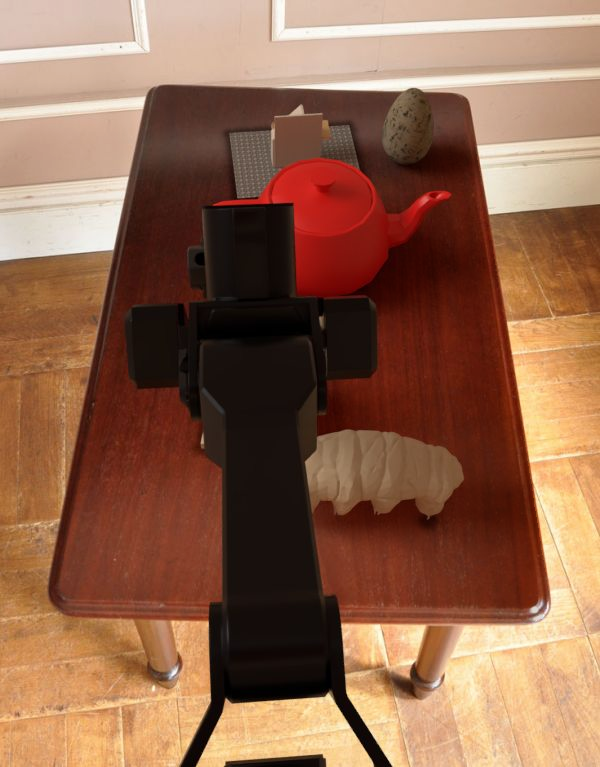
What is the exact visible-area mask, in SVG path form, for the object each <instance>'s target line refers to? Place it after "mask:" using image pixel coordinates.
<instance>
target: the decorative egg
mask: <svg viewBox="0 0 600 767" xmlns="http://www.w3.org/2000/svg"><path fill="white" fill-rule="evenodd" d="M434 123H435V122H434V115H433V109H432V105H431V103H430V100H429V99H428V97H427V95H426V94H425V92H424V91H423V90H422V89H420V88H418V87H410V88H407V89H406V90H404V91H403V92H401V93H400V94H399V95H398V96H397V98H395V100H394V102H393V103H392V105H391V107H390V108H389V110H388V113H387V115H386V117H385V120H384V123H383V126H382V133H381V141H382V147H383V149H384V152H385V154H386V155H387V157H388V158H389V159H390V160H391V161H392V162H394V163H396V164H398V165H402V166H409V165H414V164H416V163H418V162H420V161H421V160H422V159H423V158H424V157H425V156H426V155H427V154H428V152H429V150H430V148H431V146H432V143H433V139H434V132H435V130H434V129H435V126H434V125H435V124H434Z"/></svg>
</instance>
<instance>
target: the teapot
mask: <svg viewBox="0 0 600 767" xmlns="http://www.w3.org/2000/svg"><path fill="white" fill-rule="evenodd" d="M451 196H452V193H451V192H449V191H447V190H433V191H428V192H426V193H424V194H423V195H421V196H420V197H418V198H417V199H416V200H415V201H414V202H413V203H412V204H411V205H410V206H409V207H408V208H406V209H405V210H404V211H401V212H400V213H387V211H386V207H385V205H384V203H383V201H382V198H381V196H380V195H379V192H378V190H377V188H376V187H375V185H374V184H373V182H372V180H371V179H370V178H369V177H368V176H367V175H365V174H364V173H363V172H362V171H361V169H360V170H359V169H358V168H356V167H353V166H351V165H349V164H347V163H344V162H342V161H339V160H332V159H324V158H315V159H308V160H301V161H297V162H295V163H293V164H291V165H289V166H287V167H285V168H283V169H281V170H280V171H279V172H278V173H277V175H276V176H275V177H274V178H273V179H272V180H271V181H270V183H269V184H268V185H267V187H266V188H265V189H264V191H263V192H262V194H261V195H260V197H257V199H255V198H254V199H253V198H252V199H250V198H249V199H233V200H222V201H219V202H217V203H215V204H212V206H214V205H242V204H270V203H294V224H295V252H296V280H297V297H308V296H316V297H317V298H318V297H331V296H347V295H352V293H354V292H356V291H357V290H359V289H361V288H363V287H365V286H367V285H368V284H370V283H372V281H373V280H374V279H375V277H376V276H377V274H378V273H379V271H380V270H381V269H382V267H383V266H384V264H385V263H386V261H387V260H388V258H389V249H392V248H394V247H398V246H401V245H403V244H405V243H407V242H408V241H409V240H410V238H411V237H412V236H413V234H415V232H416V231H417V229H419V226H420V225H421V223H422V221H423V220H424V218H425V217H426V214H427V212H429V211H430V210H432V209H434V208H435V207H436V206H438V205H439V204H441V203H442V202H444V201H446V200H448V199H449V198H450V197H451Z"/></svg>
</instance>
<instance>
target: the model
mask: <svg viewBox="0 0 600 767" xmlns="http://www.w3.org/2000/svg"><path fill="white" fill-rule="evenodd" d="M305 464H306V472H307V479H308V486H309V494H310V501H311V508H312V515H313V514H314V512H315V510H316V508H317V507H318V505H319V503H320V502H321V501H322V502H326V501H327V502H329V501H331V502H332V506H333V515H335V516H336V515H337V516H345V515H346V514H348V513H349V512H351V511H352V509H353V508H354V507H355V506H356V505H357V504H358V503H360V502H362V501H363V502H364V501H371V505H372V507H373V511H374V512H373V513H374V515H376V513H377V515H378V516H379V515H380V514H388V513H390V512H391V511H393V509H394V508H395V507H396V506H397V505H398V504H399V503H400V502H402V501H406V500H413V499H414V501H415V506H416V507H417V510H418V511H419V512H420V513H421V514H423V515H426V516H427V518H426V520H429V519H430V517H431V518H432V516H435V515H437V514H440V513H441V512H442V511H443V508H444V507H445V503H446V501H448V499H449V498H450V497H451V496H452V494H453V492H454V490H456V489H457V488H459V487H460V485H461V483H463V482H464V480H465V476H464V472H463V467H462V464H461V463H460V461H458V458H457V456H456V455H453V454H451V452H450V451H449V450H448V449H447V448H446V447H444V446H441V445H436V446H435V445H433V444H426V443H424V442H423V441H421V440H418V439H415V438H412V437H409V436H401V435H400V434H399V433H397V432H394V431H389V432H387V431H383V432H381V431H379V430H369V429H367V430H366V429H365V430H364V429H359V430H353V429H343V430H340V431H335V432H330V433H325V434H322V435H317V450H316V451H315V452H314V453H313V454H312V455H311V456H310V457H309V458H308V459H307V460H306V461H305Z"/></svg>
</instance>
